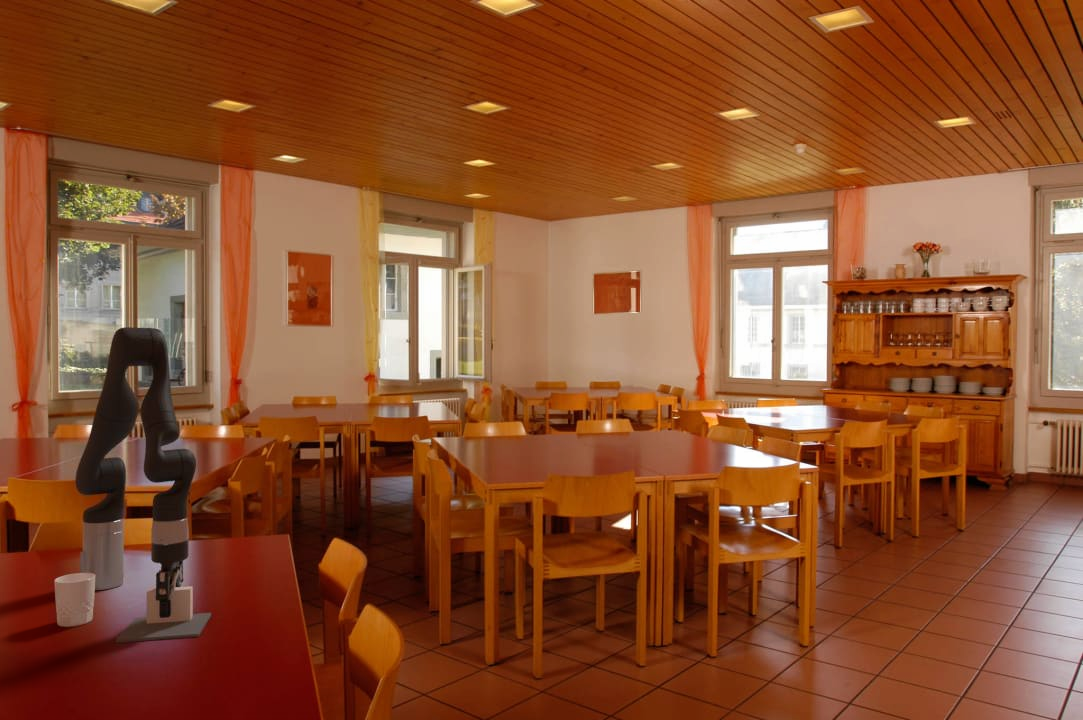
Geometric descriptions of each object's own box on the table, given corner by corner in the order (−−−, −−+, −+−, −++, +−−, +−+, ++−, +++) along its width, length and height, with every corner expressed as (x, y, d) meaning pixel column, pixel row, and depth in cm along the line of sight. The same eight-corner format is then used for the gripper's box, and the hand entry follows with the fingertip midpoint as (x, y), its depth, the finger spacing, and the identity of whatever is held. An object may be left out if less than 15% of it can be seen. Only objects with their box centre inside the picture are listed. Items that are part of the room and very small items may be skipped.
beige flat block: (146, 623, 170) (146, 592, 170) (149, 619, 172) (149, 588, 172) (190, 620, 172) (190, 589, 172) (192, 616, 174) (192, 586, 174)
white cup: (103, 618, 175) (103, 574, 175) (72, 629, 168) (72, 584, 168) (77, 614, 178) (77, 571, 178) (45, 625, 170) (45, 580, 170)
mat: (116, 642, 160) (116, 639, 160) (135, 620, 174) (135, 617, 174) (198, 636, 164) (198, 633, 164) (211, 615, 177) (211, 612, 177)
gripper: (160, 532, 178) (160, 602, 178) (142, 547, 164) (142, 622, 164) (195, 531, 180) (194, 600, 180) (180, 545, 166) (180, 620, 166)
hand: (170, 610), depth 172 cm, fingers open, 8 cm apart
